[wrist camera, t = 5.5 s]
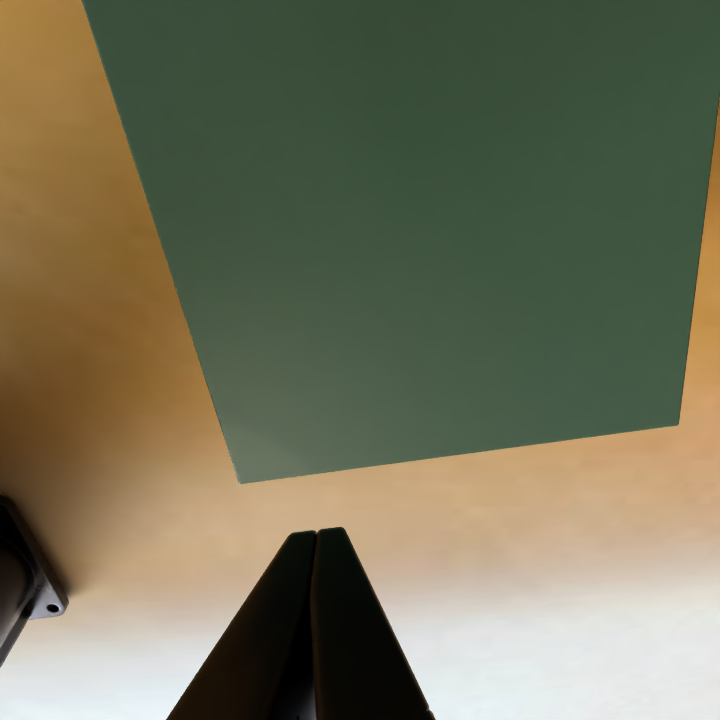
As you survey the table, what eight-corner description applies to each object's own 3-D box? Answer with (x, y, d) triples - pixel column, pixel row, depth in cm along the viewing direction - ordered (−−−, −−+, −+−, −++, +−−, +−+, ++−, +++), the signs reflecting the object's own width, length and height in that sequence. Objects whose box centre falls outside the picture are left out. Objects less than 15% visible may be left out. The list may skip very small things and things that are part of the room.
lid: (664, 409, 15) (679, 426, 15) (243, 466, 16) (239, 485, 15) (749, -376, 9) (784, -413, 8) (27, -221, 9) (0, -244, 9)
